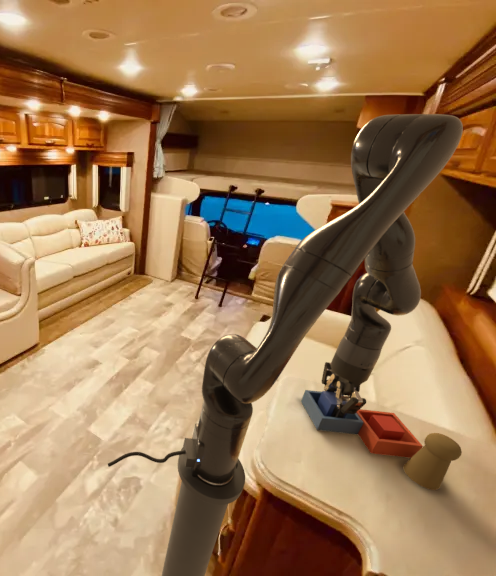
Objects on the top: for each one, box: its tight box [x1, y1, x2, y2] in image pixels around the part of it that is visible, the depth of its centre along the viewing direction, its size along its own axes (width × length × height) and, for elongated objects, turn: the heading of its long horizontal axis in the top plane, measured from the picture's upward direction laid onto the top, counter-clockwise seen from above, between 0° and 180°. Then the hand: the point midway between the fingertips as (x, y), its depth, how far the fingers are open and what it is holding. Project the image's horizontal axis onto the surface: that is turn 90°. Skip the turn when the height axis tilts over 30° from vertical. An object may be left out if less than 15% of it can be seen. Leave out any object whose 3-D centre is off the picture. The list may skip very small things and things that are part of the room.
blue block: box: [317, 390, 347, 418], centre depth 80 cm, size 4×4×4 cm
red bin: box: [356, 408, 424, 459], centre depth 75 cm, size 9×9×4 cm
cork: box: [402, 432, 463, 491], centre depth 66 cm, size 6×6×11 cm
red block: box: [368, 415, 405, 441], centre depth 75 cm, size 4×4×4 cm
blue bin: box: [300, 389, 364, 436], centre depth 81 cm, size 9×9×4 cm
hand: (330, 410), depth 81 cm, fingers closed on blue block, 4 cm apart
